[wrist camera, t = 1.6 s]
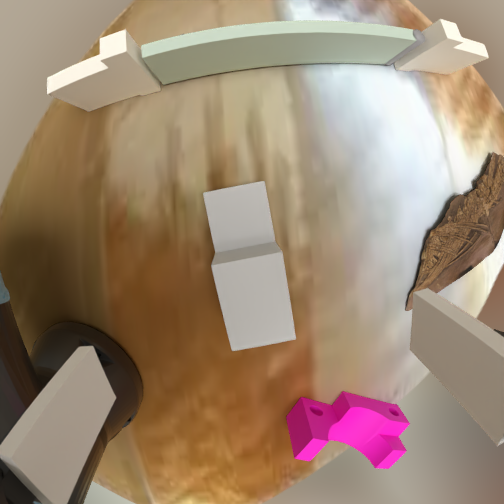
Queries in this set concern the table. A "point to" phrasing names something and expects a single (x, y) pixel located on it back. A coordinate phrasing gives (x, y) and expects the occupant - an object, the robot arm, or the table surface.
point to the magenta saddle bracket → (348, 427)
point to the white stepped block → (248, 267)
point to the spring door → (276, 47)
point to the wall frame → (146, 82)
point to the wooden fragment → (464, 232)
